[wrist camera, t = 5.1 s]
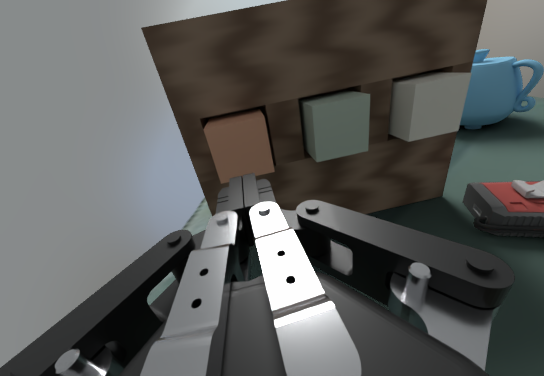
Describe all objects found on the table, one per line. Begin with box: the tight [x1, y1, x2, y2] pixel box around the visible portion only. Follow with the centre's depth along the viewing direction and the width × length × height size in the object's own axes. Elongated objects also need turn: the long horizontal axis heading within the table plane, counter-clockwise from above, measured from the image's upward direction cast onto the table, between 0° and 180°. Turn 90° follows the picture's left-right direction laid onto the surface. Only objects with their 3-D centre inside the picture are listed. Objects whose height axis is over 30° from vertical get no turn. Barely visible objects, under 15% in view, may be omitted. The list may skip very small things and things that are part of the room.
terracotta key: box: [203, 109, 275, 184], centre depth 21 cm, size 5×4×5 cm
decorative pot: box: [460, 49, 544, 129], centre depth 46 cm, size 16×16×14 cm
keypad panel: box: [141, 0, 487, 238], centre depth 25 cm, size 28×6×22 cm, turn 98°
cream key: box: [388, 72, 472, 142], centre depth 22 cm, size 5×4×5 cm
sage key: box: [298, 90, 370, 162], centre depth 22 cm, size 5×4×5 cm
